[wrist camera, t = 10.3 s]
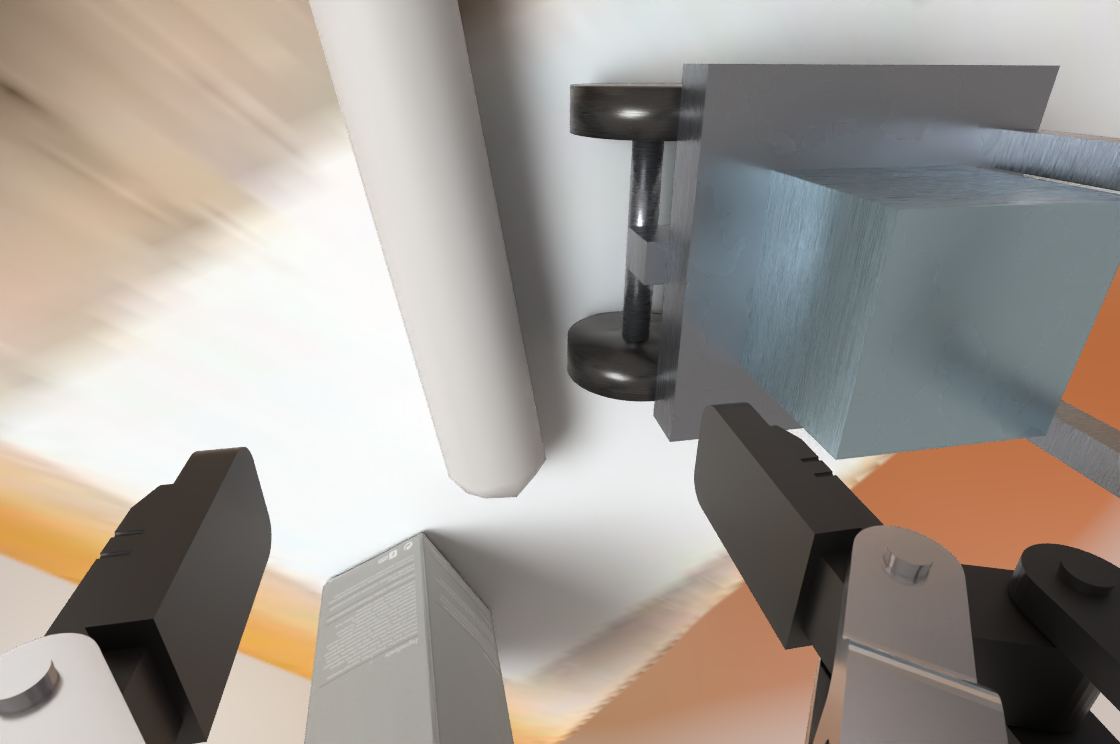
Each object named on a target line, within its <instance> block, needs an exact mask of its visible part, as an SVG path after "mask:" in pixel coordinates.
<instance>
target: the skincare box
mask: <svg viewBox="0 0 1120 744" xmlns="http://www.w3.org/2000/svg"><path fill="white" fill-rule="evenodd" d="M304 744H514V742H513V736H512V731H511V725H510V719H509V714H508V708H507V702H506V697H505V691H504V685H503V680H502V674H501V669H500V663H499V657H498V652H497V646H496V640H495V635H494V629H493V622H492V615H491V612H490V610H489V609H488V608H487V607H486V606H485V604H484V603H483V602H482V601H481V600H480V599H479V597H478V596H477V595H476V594H475V593H474V592H473V590H472V589H471V588H470V587H469V586H468V585H467V584H466V582H465V581H464V580H463V579H462V578H461V576H460V575H459V574H458V573H457V572H456V571H455V569H454V568H453V567H452V566H451V565H450V563H449V562H448V561H447V560H446V559H445V558H444V556H443V555H442V554H441V553H440V552H439V551H438V549H437V548H436V547H435V546H434V545H433V544H432V543H431V541H430V540H429V539H428V538H427V537H426V536H425V535H424V534H423V533H420V534H418V535H416V536H414V537H412V538H410V539H408V540H406V541H404V542H402V543H401V544H399V545H397V546H395V547H393V548H391V549H390V550H388V551H386V552H384V553H382V554H380V555H379V556H377V557H375V558H373V559H371V560H369V561H367V562H365V563H363V564H361V565H359V566H357V567H355V568H353V569H351V570H349V571H347V572H345V573H343V574H341V575H338V576H336V577H334V578H332V579H330V580H328V581H327V582H326V585H324V586H323V591H322V599H321V607H320V615H319V624H318V633H317V642H316V650H315V658H314V666H313V674H312V683H311V691H310V699H309V707H308V716H307V724H306V733H305V741H304Z"/></svg>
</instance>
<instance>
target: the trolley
mask: <svg viewBox="0 0 1120 744" xmlns="http://www.w3.org/2000/svg"><path fill="white" fill-rule="evenodd" d="M1059 67H1060V66H1002V65H803V64H684V66H683V77H682V84H675V83H592V84H572V85H570V133H572V134H575V135H579V136H585V137H592V138H602V139H614V140H633V142H632V160H631V178H630V197H629V215H628V233H627V252H626V270H625V288H624V306H623V312H610V313H603V314H598V315H594V316H590V317H587V318H585V319H582V320H580V321H578V322H577V323H575V324H574V325H573V326H572V327H571V328H570V329H569V331H568V348H567V371H568V374H569V376H570V377H571V379H572V380H573V381H574V382H575V383H576V384H578V385H579V386H581V387H582V388H584V389H586V390H588V391H590V392H592V393H595V394H598V395H601V396H604V397H608V398H613V399H618V400H625V401H655V404H654V415H653V416H654V417H655V419H656V420H657V422H658V424H659V425H660V427H661V428H662V430H663V431H664V433H665V435H666V436H667V438H668V439H669V441H670V442H673V441H683V440H693V439H699V433H700V425H701V418H702V413H703V411H704V409H705V407H706V406H708V405H718V404H728V403H739V402H747V403H749V404H750V405H751V406H752V407H753V408H754V409H755V410H756V411H757V412H758V413H759V414H760V416H761V417H762V418H763V419H764V420H765V421H766V422H767V423H768V424H769V425H770V426H774V425H777V426H779V427H781V428H783V429H784V430H789V429H799V428H804V429H805V430H806V431H807V432H808V433H809V434H810V435H811V436H812V437H813V438H814V439H815V440H816V441H817V442H818V443H819V444H820V445H821V446H822V447H823V448H824V449H825V450H826V451H827V452H828V453H829V454H830V455H831V456H832V457H833V458H835V459H836V460H837V459H846V458H855V457H864V456H872V455H881V454H890V453H898V452H907V451H915V450H924V449H933V448H942V447H950V446H959V445H968V444H977V443H985V442H995V441H1003V440H1011V439H1021V438H1026V439H1027V440H1028V441H1030V442H1032V443H1033V444H1035V445H1036V446H1038V447H1040V448H1041V449H1043V450H1044V451H1046V452H1047V453H1049V454H1051V455H1052V456H1054V457H1056V458H1057V459H1059V460H1060V461H1062V462H1063V463H1065V464H1067V465H1068V466H1070V467H1071V468H1073V469H1074V470H1076V471H1078V472H1079V473H1081V474H1082V475H1084V476H1085V477H1087V478H1089V479H1090V480H1092V481H1093V482H1095V483H1097V484H1098V485H1100V486H1101V487H1103V488H1104V489H1106V490H1108V491H1109V492H1111V493H1112V494H1114V495H1116V496H1117V497H1119V498H1120V431H1119V430H1117V429H1115V428H1113V427H1111V426H1109V425H1108V424H1106V423H1104V422H1102V421H1100V420H1098V419H1096V418H1094V417H1092V416H1091V415H1089V414H1087V413H1085V412H1083V411H1081V410H1079V409H1078V408H1076V407H1074V406H1072V405H1070V404H1068V403H1066V402H1065V401H1062V400H1061V398H1062V396H1063V394H1064V391H1065V389H1066V387H1067V384H1068V382H1069V380H1070V377H1071V375H1072V373H1073V371H1074V368H1075V366H1076V364H1077V361H1078V359H1079V357H1080V354H1081V352H1082V350H1083V347H1084V345H1085V343H1086V340H1087V338H1088V336H1089V333H1090V331H1091V329H1092V327H1093V324H1094V322H1095V320H1096V317H1097V315H1098V312H1099V310H1100V308H1101V306H1102V303H1103V301H1104V298H1105V296H1106V294H1107V292H1108V290H1109V287H1110V285H1111V283H1112V280H1113V278H1114V276H1115V273H1116V271H1117V269H1118V266H1119V264H1120V195H1118V194H1113V193H1108V192H1103V191H1097V190H1092V189H1087V188H1082V187H1076V186H1071V185H1066V184H1061V183H1055V182H1050V181H1045V180H1040V179H1034V178H1029V177H1024V176H1023V174H1029V175H1035V176H1040V177H1046V178H1051V179H1056V180H1062V181H1067V182H1073V183H1078V184H1083V185H1089V186H1094V187H1100V188H1105V189H1110V190H1116V191H1120V139H1119V138H1110V137H1101V136H1092V135H1082V134H1073V133H1064V132H1055V131H1046V130H1038V129H1039V126H1040V123H1041V120H1042V117H1043V114H1044V111H1045V108H1046V105H1047V102H1048V99H1049V96H1050V94H1051V91H1052V88H1053V85H1054V82H1055V79H1056V76H1057V73H1058V70H1059ZM664 141H677V147H676V159H675V170H674V182H673V194H672V205H671V217H670V227H669V226H668V225H658V217H659V204H660V191H661V178H662V165H663V152H664ZM654 284H665V287H664V299H663V310H662V315H660V314H654V313H651V308H652V295H653V285H654Z"/></svg>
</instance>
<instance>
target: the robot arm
mask: <svg viewBox="0 0 1120 744" xmlns="http://www.w3.org/2000/svg"><path fill="white" fill-rule="evenodd" d="M694 483H695V490H696V495H697V498H698V501H699V504H700V506H701V508H702V509H703V511H704V513H705V514H706V516H707V518H708V520H709V521H710V523H711V525H712V526H713V528H714V530H715V531H716V533H717V535H718V536H719V538H720V540H721V542H722V543H723V545H724V547H725V548H726V550H727V552H728V553H729V555H730V557H731V558H732V560H733V562H734V564H735V565H736V567H737V569H738V570H739V572H740V574H741V575H742V577H743V579H744V580H745V582H746V584H747V586H748V587H749V589H750V591H751V592H752V594H753V596H754V597H755V599H756V601H757V602H758V604H759V606H760V608H761V609H762V611H763V613H764V614H765V616H766V618H767V619H768V621H769V623H770V624H771V626H772V628H773V630H774V631H775V633H776V635H777V636H778V638H779V640H780V641H781V643H782V645H783V647H784V648H785V649H792V648H797V647H804V646H810V645H813V647H814V648H815V650H816V652H817V653H818V655H819V656H820V658H819V661H818V665H817V668H816V672H815V679H814V685H813V693H812V698H811V705H810V712H809V719H808V726H807V732H806V738H805V744H1120V742H1119V741H1118V740H1117V739H1116V738H1115V737H1114V736H1113V735H1112V734H1111V732H1109V730H1108V729H1107V728H1106V727H1105V726H1104V725H1103V724H1102V723H1101V722H1100V721H1099V720H1098V719H1097V718H1096V717H1095V715H1094V714H1093V713H1092V712H1091V711H1090V708H1091V707H1092V705H1093V703H1094V702H1095V700H1096V699H1097V697H1098V695H1099V694H1100V692H1101V693H1102V694H1103V695H1104V696H1105V697H1106V698H1107V699H1108V700H1109V701H1110V702H1111V703H1112V704H1113V705H1114V706H1115V707H1116V708H1117V709H1118V710H1119V711H1120V568H1118V567H1117V566H1115V565H1113V564H1112V563H1110V562H1108V561H1106V560H1104V559H1102V558H1100V557H1097V556H1096V555H1093V554H1091V553H1088V552H1085V551H1083V550H1080V549H1077V548H1073V547H1069V546H1064V545H1059V544H1036V545H1033V546H1030V547H1028V548H1027V549H1025V550H1024V552H1023V553H1022V555H1021V557H1020V560H1019V562H1018V564H1017V566H1016V568H1015V570H1005V569H997V568H989V567H980V566H972V565H963V564H960V563H959V561H958V560H957V559H956V558H955V556H954V555H952V553H951V552H949V551H948V550H947V549H946V548H945V547H943V546H942V545H940V544H939V543H937V542H936V541H934V540H933V539H931V538H929V537H927V536H925V535H923V534H920V533H918V532H915V531H912V530H909V529H906V528H901V527H896V526H884V525H883V524H882V523H881V522H880V521H879V520H878V519H877V517H876V516H875V515H874V514H873V513H872V512H871V511H870V510H869V509H868V508H867V507H866V506H865V505H864V504H863V503H862V502H861V501H860V500H859V499H858V498H857V497H856V496H855V495H854V493H852V491H851V490H850V489H849V488H848V487H847V486H846V485H845V484H844V483H843V482H842V481H841V480H840V479H839V478H838V477H837V476H836V475H834V476H833V474H832V471H831V469H830V468H829V467H828V466H827V465H826V464H825V463H824V462H823V461H822V460H821V461H819V459H818V456H817V455H816V454H815V453H814V452H813V451H812V450H811V449H810V448H809V447H808V446H807V444H806V443H805V442H804V441H803V440H802V439H800V438H798V437H797V436H795V435H793V434H791V433H790V432H788V431H786V430H784V429H783V428H781V427H779V426H777V425H774V426H770V425H769V424H768V423H767V422H766V421H765V420H764V419H763V418H762V417H761V416H760V414H759V413H758V412H757V411H756V410H755V409H754V408H753V407H752V406H751V405H750V404H749V403H747V402H739V403H728V404H718V405H708V406H706V407H705V409H704V411H703V413H702V418H701V425H700V433H699V441H698V449H697V456H696V464H695V473H694ZM270 549H271V524H270V519H269V515H268V511H267V507H266V504H265V500H264V497H263V493H262V489H261V486H260V482H259V479H258V475H257V471H256V468H255V464H254V460H253V457H252V455H251V453H250V451H249V450H248V449H247V448H246V447H238V448H227V449H216V450H205V451H196V452H194V453H193V454H192V455H191V457H190V458H189V460H188V461H187V463H186V465H185V466H184V468H183V469H182V471H181V473H180V474H179V476H178V477H177V479H176V481H175V482H174V484H168V485H160V486H158V487H157V488H156V489H155V490H153V491H152V492H151V493H150V494H148V495H147V496H146V497H145V498H143V499H142V500H141V501H139V502H138V503H137V504H136V505H134V506H133V507H132V508H131V509H130V511H129V512H128V514H127V515H126V516H125V518H124V519H123V521H122V522H121V524H120V525H119V527H118V528H117V530H116V531H115V537H113V538H111V539H110V540H109V541H108V543H107V544H106V546H105V547H104V549H103V550H102V552H101V553H100V554H101V557H100V559H96V561H95V562H94V564H93V565H92V566H91V568H90V569H89V571H88V572H87V574H86V575H85V577H84V578H83V580H82V581H81V583H80V584H79V586H78V587H77V588H76V590H75V592H74V593H73V594H72V596H71V597H70V599H69V600H68V602H67V603H66V605H65V606H64V608H63V609H62V611H61V612H60V614H59V615H58V616H57V618H56V619H55V621H54V622H53V624H52V625H51V627H50V628H49V630H48V631H47V633H46V634H45V636H44V637H41V638H38V639H35V640H32V641H29V642H26V643H24V644H22V645H20V646H17V647H15V648H13V649H11V650H9V651H8V652H6V653H4V654H2V655H0V744H195V743H201V742H207V739H208V736H209V732H210V730H211V727H212V724H213V721H214V718H215V715H216V712H217V709H218V706H219V703H220V700H221V697H222V694H223V691H224V688H225V685H226V682H227V679H228V676H229V673H230V670H231V667H232V665H233V662H234V659H235V656H236V653H237V650H238V647H239V644H240V641H241V638H242V635H243V632H244V629H245V626H246V623H247V620H248V617H249V614H250V611H251V608H252V605H253V602H254V599H255V596H256V593H257V591H258V588H259V585H260V582H261V579H262V576H263V573H264V570H265V567H266V564H267V561H268V558H269V554H270Z"/></svg>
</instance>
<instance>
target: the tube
mask: <svg viewBox="0 0 1120 744" xmlns="http://www.w3.org/2000/svg"><path fill="white" fill-rule="evenodd" d="M309 3H310V7H311V10H312V13H313V17H314V20H315V24H316V27H317V30H318V34H319V37H320V41H321V44H322V47H323V51H324V54H325V58H326V61H327V64H328V68H329V71H330V75H331V78H332V81H333V85H334V88H335V92H336V95H337V98H338V102H339V105H340V109H341V112H342V115H343V119H344V122H345V126H346V129H347V132H348V136H349V139H350V143H351V146H352V149H353V153H354V156H355V159H356V163H357V166H358V170H359V173H360V176H361V180H362V183H363V187H364V190H365V193H366V197H367V200H368V204H369V207H370V210H371V214H372V217H373V221H374V224H375V227H376V231H377V234H378V238H379V241H380V244H381V248H382V251H383V255H384V258H385V261H386V265H387V268H388V272H389V275H390V278H391V282H392V285H393V289H394V292H395V295H396V299H397V302H398V306H399V309H400V312H401V316H402V319H403V322H404V326H405V329H406V333H407V336H408V339H409V343H410V346H411V350H412V353H413V356H414V360H415V363H416V367H417V370H418V373H419V377H420V380H421V384H422V387H423V390H424V394H425V397H426V401H427V404H428V407H429V411H430V414H431V418H432V421H433V424H434V428H435V431H436V435H437V438H438V441H439V445H440V448H441V452H442V455H443V458H444V462H445V465H446V469H447V472H448V475H449V477H450V478H451V479H452V480H453V481H454V482H455V483H456V484H457V485H458V486H460V487H461V488H462V489H463V490H464V491H465V492H466V493H468V494H472V495H475V496H479V497H483V498H503V497H517V496H518V495H519V493H520V492H521V491H522V490H523V489H524V488H525V487H526V485H527V484H528V483H529V482H530V481H531V480H532V478H533V477H534V476H535V475H536V474H537V472H538V471H539V469H540V467H541V466H542V464H543V463H544V461H545V460H546V457H545V452H544V447H543V442H542V437H541V431H540V426H539V421H538V416H537V411H536V405H535V400H534V395H533V390H532V385H531V379H530V374H529V369H528V364H527V359H526V354H525V348H524V343H523V338H522V333H521V328H520V322H519V317H518V312H517V307H516V302H515V297H514V291H513V286H512V281H511V276H510V271H509V265H508V260H507V255H506V250H505V245H504V239H503V234H502V229H501V224H500V219H499V214H498V208H497V203H496V198H495V193H494V188H493V182H492V177H491V172H490V167H489V162H488V156H487V151H486V146H485V141H484V136H483V131H482V125H481V120H480V115H479V110H478V105H477V99H476V94H475V89H474V84H473V79H472V73H471V68H470V63H469V58H468V53H467V48H466V42H465V37H464V32H463V27H462V22H461V16H460V11H459V6H458V1H457V0H309Z"/></svg>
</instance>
